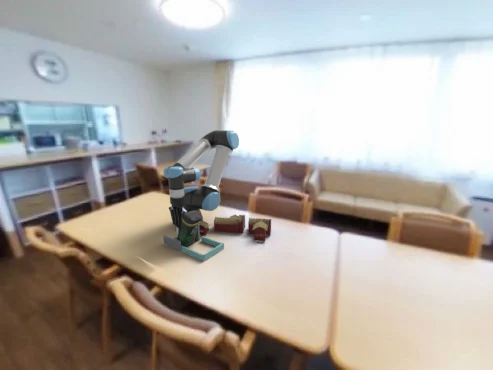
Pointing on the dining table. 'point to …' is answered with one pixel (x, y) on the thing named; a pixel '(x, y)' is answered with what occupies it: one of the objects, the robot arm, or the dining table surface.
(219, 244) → the teal u-shaped frame
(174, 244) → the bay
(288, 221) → the dining table surface
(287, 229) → the dining table surface
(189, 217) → the coffee jar
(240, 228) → the toy houses
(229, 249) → the dining table surface
